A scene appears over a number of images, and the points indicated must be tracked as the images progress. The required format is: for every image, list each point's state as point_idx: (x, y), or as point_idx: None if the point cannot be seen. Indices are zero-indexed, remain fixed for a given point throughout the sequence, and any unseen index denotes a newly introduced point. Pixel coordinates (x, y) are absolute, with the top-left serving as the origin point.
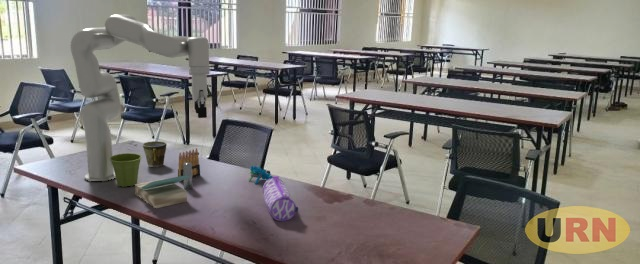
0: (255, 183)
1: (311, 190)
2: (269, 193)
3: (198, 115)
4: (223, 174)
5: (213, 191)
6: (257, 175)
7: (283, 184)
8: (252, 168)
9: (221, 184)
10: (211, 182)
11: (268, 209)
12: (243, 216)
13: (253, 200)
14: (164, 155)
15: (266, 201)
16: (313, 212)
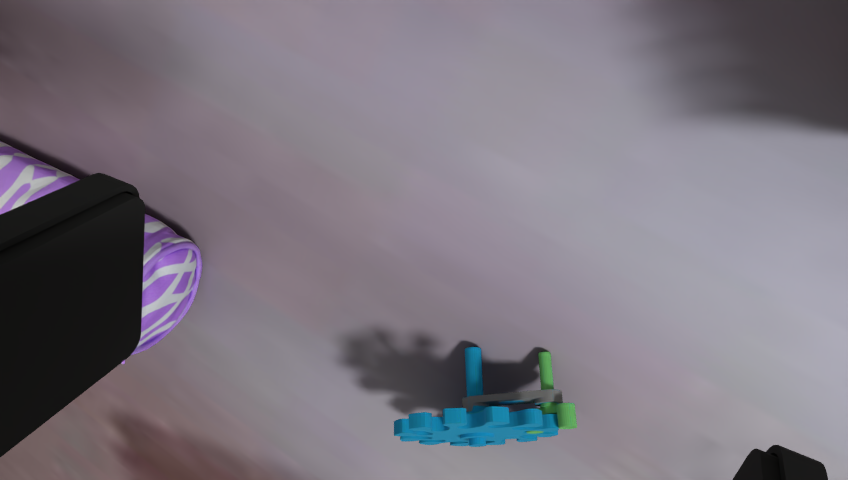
0: (473, 348)
1: (269, 471)
2: None
3: (62, 200)
4: (814, 307)
5: (473, 62)
6: (480, 398)
7: None
8: (485, 409)
9: (587, 179)
10: (678, 139)
11: (8, 148)
12: (54, 34)
13: (235, 190)
14: None
15: (22, 170)
16: None
